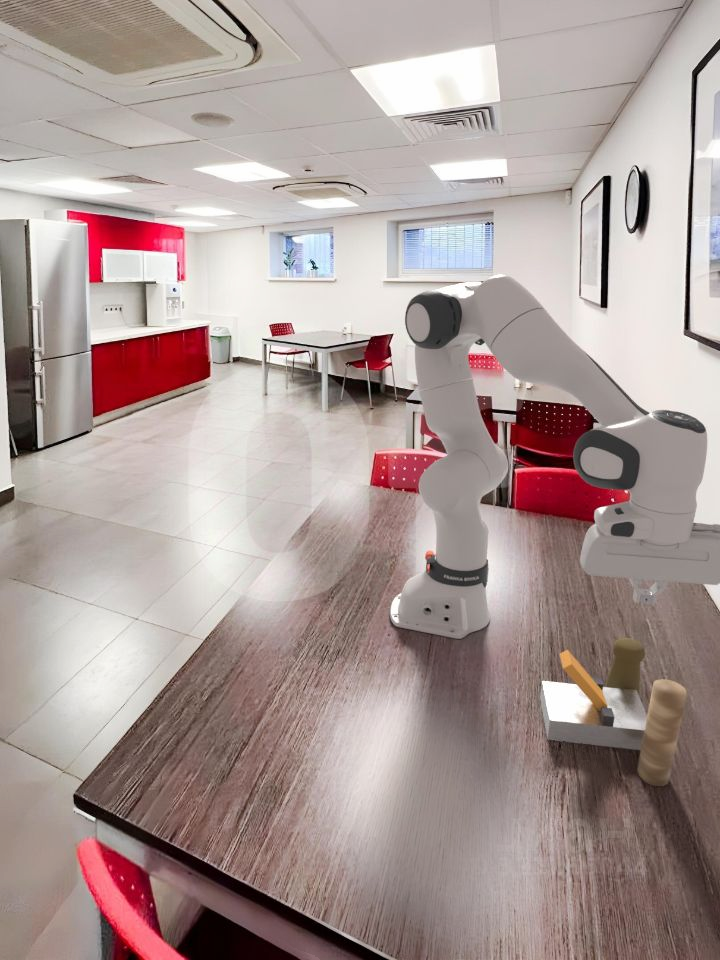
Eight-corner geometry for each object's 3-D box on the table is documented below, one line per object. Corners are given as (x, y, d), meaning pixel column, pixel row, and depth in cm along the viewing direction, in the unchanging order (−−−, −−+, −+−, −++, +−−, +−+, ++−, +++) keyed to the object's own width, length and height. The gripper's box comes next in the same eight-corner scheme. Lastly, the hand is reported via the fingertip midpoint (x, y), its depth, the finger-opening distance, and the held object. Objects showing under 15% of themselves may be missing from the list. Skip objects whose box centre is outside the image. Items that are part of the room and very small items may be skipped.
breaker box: (547, 739, 97) (551, 710, 95) (540, 699, 106) (543, 671, 104) (650, 751, 94) (655, 721, 92) (633, 708, 104) (638, 680, 102)
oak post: (641, 784, 88) (658, 697, 83) (633, 762, 92) (649, 677, 87) (672, 788, 88) (691, 700, 82) (663, 765, 92) (680, 680, 86)
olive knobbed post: (598, 683, 110) (605, 633, 107) (628, 681, 111) (637, 631, 107) (613, 705, 105) (622, 653, 101) (646, 703, 105) (655, 651, 101)
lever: (602, 715, 97) (563, 669, 95) (596, 697, 101) (559, 653, 99) (610, 710, 96) (571, 664, 95) (604, 693, 100) (567, 648, 99)
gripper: (725, 517, 88) (707, 597, 93) (584, 508, 92) (573, 586, 96) (744, 534, 83) (723, 619, 87) (592, 524, 86) (580, 606, 90)
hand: (643, 601), depth 92 cm, fingers closed
